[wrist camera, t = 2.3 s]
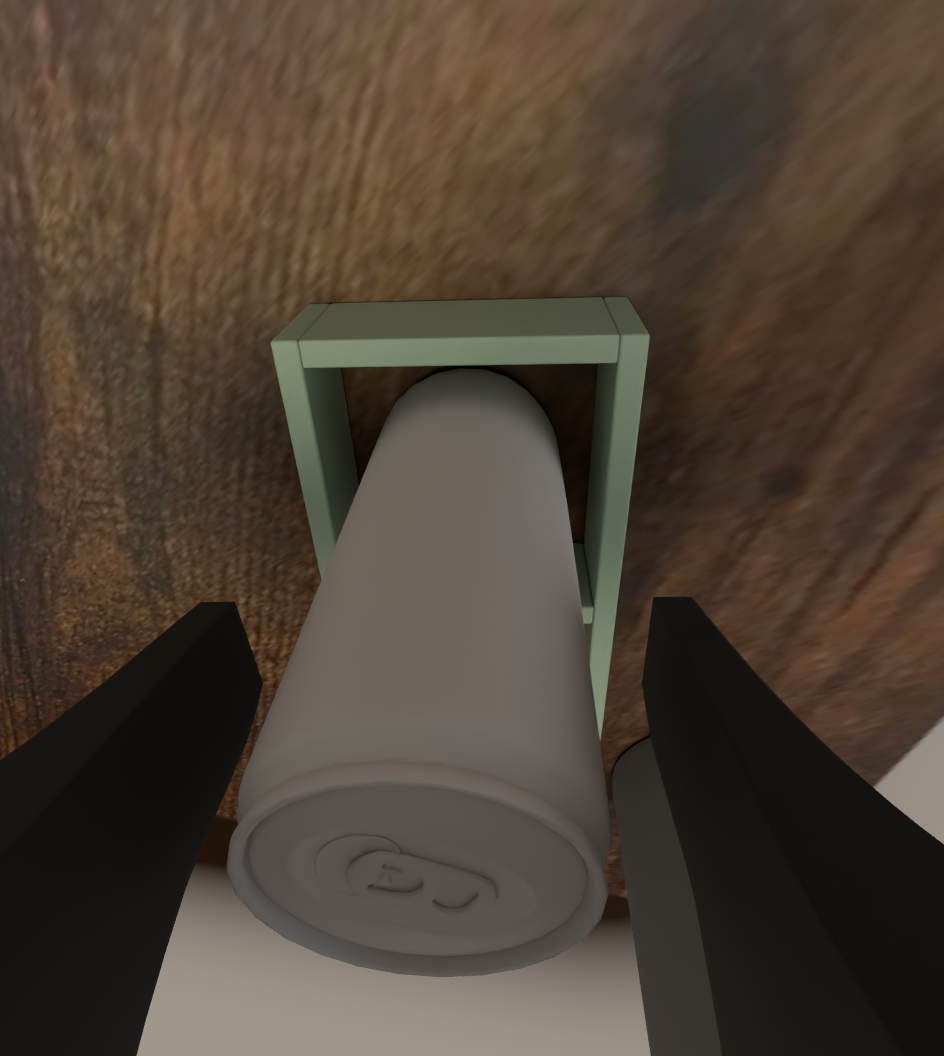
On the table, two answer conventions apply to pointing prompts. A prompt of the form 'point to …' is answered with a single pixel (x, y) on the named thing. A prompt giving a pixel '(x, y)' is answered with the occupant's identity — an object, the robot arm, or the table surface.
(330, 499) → the divided storage tray
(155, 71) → the table surface
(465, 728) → the beverage can
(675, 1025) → the bottle
